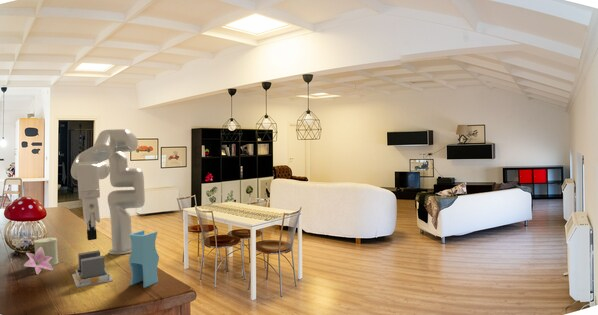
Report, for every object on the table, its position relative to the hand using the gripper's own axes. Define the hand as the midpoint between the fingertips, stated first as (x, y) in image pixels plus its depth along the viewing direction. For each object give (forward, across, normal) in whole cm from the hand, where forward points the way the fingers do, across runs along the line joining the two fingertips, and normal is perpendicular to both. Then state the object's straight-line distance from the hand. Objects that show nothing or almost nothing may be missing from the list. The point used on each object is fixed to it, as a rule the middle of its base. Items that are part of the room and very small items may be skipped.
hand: (92, 239), depth 165 cm
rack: (+17, +4, 0) cm, 18 cm away
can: (+18, +40, +15) cm, 47 cm away
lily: (+18, +30, +18) cm, 39 cm away
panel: (+17, -1, 0) cm, 17 cm away
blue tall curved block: (+17, -16, -16) cm, 28 cm away
